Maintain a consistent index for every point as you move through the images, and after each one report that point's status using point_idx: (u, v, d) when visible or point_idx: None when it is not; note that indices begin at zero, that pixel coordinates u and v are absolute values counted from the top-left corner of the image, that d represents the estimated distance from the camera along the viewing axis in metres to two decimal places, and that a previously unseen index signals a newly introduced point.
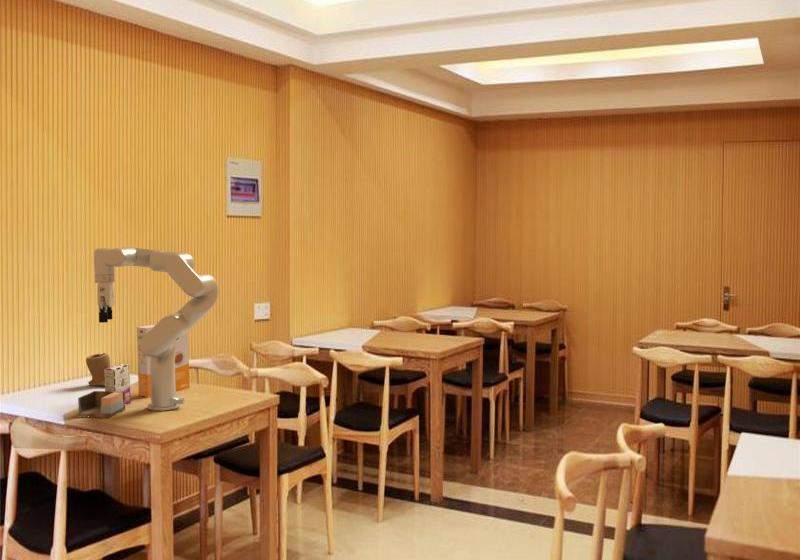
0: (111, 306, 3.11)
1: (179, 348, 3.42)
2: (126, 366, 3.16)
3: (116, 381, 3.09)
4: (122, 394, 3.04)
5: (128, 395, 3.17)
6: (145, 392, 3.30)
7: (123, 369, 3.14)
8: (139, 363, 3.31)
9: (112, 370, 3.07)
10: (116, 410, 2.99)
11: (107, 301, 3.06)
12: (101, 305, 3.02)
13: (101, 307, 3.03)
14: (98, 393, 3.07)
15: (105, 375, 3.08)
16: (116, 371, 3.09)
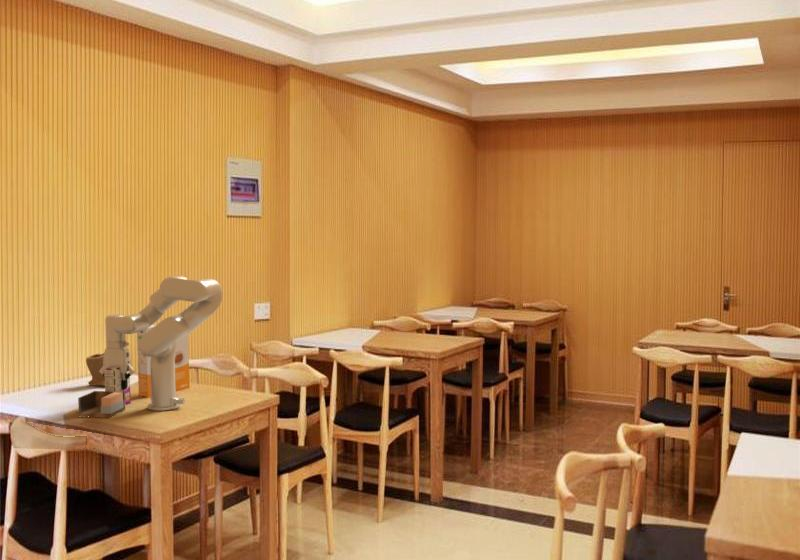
0: None
1: (179, 348, 3.42)
2: None
3: (116, 381, 3.09)
4: (122, 394, 3.04)
5: (128, 395, 3.17)
6: (145, 392, 3.30)
7: None
8: (139, 363, 3.31)
9: (112, 370, 3.07)
10: (116, 410, 2.99)
11: (130, 365, 3.14)
12: (132, 373, 3.12)
13: (131, 374, 3.12)
14: (98, 393, 3.07)
15: (105, 375, 3.08)
16: (116, 371, 3.09)
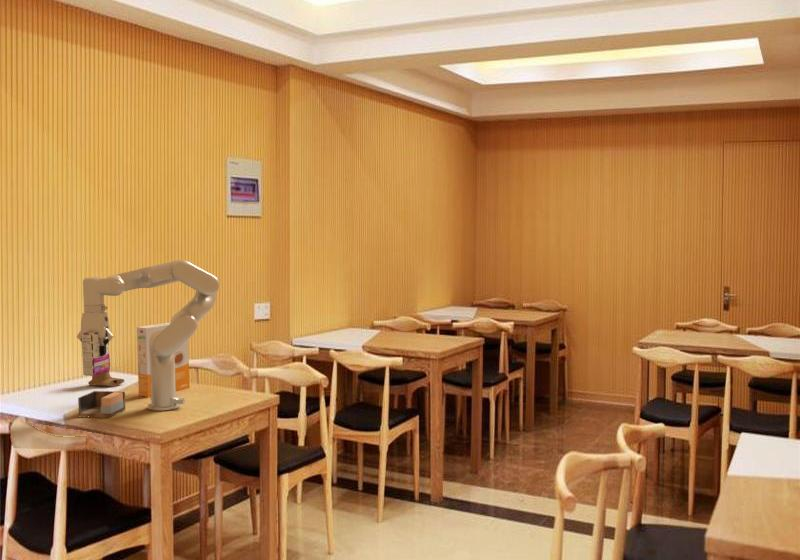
0: None
1: (179, 348, 3.42)
2: None
3: (94, 347, 2.94)
4: (122, 394, 3.04)
5: (107, 362, 3.03)
6: (145, 392, 3.30)
7: None
8: (139, 363, 3.31)
9: (90, 335, 2.93)
10: (116, 410, 2.99)
11: (109, 330, 3.00)
12: (111, 338, 2.98)
13: (109, 340, 2.98)
14: (98, 393, 3.07)
15: (83, 340, 2.94)
16: (94, 336, 2.94)
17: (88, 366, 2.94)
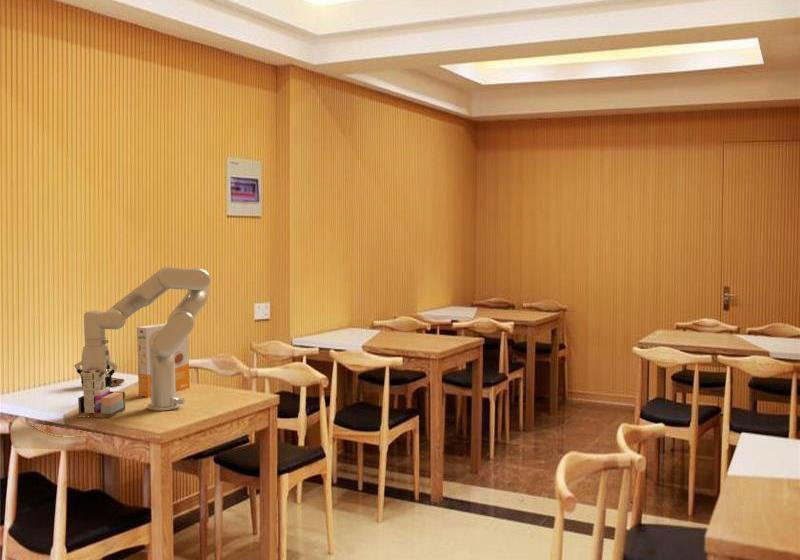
0: None
1: (179, 348, 3.42)
2: None
3: (95, 385, 2.95)
4: (122, 394, 3.04)
5: None
6: (145, 392, 3.30)
7: (103, 372, 3.00)
8: (139, 363, 3.31)
9: (91, 373, 2.94)
10: (116, 410, 2.99)
11: None
12: (116, 368, 2.99)
13: (115, 370, 2.99)
14: None
15: (84, 378, 2.95)
16: (95, 374, 2.95)
17: (89, 404, 2.95)
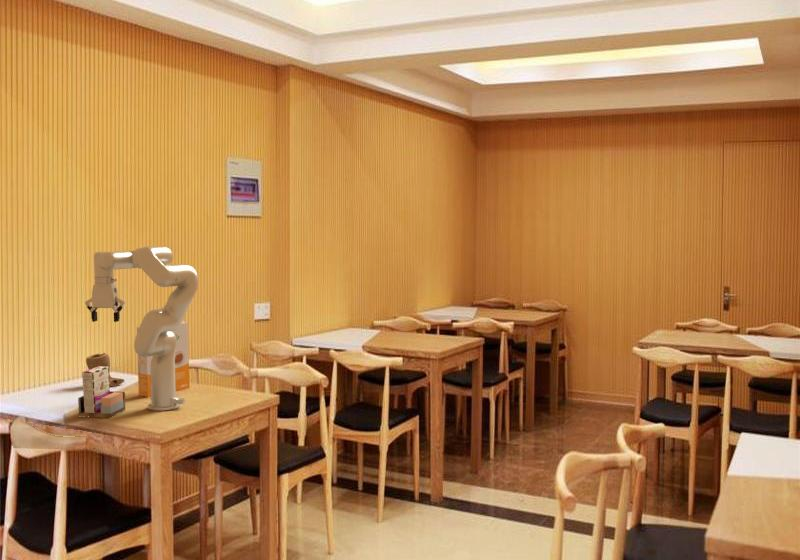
0: None
1: (179, 348, 3.42)
2: (105, 368, 3.02)
3: (95, 385, 2.95)
4: (122, 394, 3.04)
5: None
6: (145, 392, 3.30)
7: (102, 372, 3.00)
8: (139, 363, 3.31)
9: (91, 373, 2.94)
10: (116, 410, 2.99)
11: None
12: (123, 304, 3.22)
13: (122, 306, 3.22)
14: None
15: (84, 378, 2.95)
16: (95, 374, 2.95)
17: (89, 404, 2.95)
